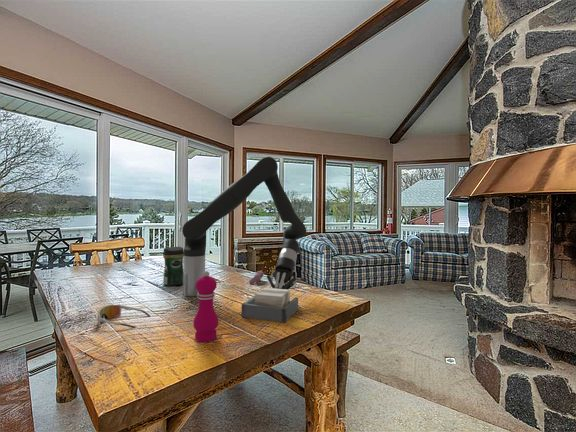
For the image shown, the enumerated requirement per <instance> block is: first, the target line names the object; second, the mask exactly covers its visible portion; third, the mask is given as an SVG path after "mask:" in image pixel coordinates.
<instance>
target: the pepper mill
mask: <svg viewBox="0 0 576 432" xmlns="http://www.w3.org/2000/svg"><path fill="white" fill-rule="evenodd" d="M217 285H218V284H217V281H216V278H214V277H213V276H210V272H209V270H205V272H204V273H203V277H201V278H199V279H198V280H197V282H196V289H197V291H198V292H199V293H198V294H197V295H198V296H196V297H197V299H198V302H199V304H198V310H197V312H196V314H195V316H194V318H193V328H194V330H195V333H194V338H195V341H196V342H199V343H208V342H213V341H214V340H216V339H217V335H218V332H217V328H218V326H219V318H218V315H217V312H216V310H215V308H214V298H215V290H216V289H217Z"/></svg>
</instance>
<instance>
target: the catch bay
mask: <svg viewBox="0 0 576 432" xmlns="http://www.w3.org/2000/svg"><path fill="white" fill-rule="evenodd" d="M298 309H299V297H294V298H292V299H290V302H289V303H288V304H287V305H286V306H285V307H284V308H279V307H270V306H262V305H255V295H254V296H253V297H251V298H250V299H248V300H246V301H245V302H243V303H241V313H240V314H241V317H242V318H248V319H255V320H263V321H271V322H278V323H286V322H287V321H289V319H290V318H291V317H292V316H293V315H294V314H295V313H296V312H297V311H298Z"/></svg>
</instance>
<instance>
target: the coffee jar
mask: <svg viewBox="0 0 576 432" xmlns="http://www.w3.org/2000/svg"><path fill="white" fill-rule="evenodd" d="M162 256H163V259H164V271H163V281H162V283H163V285H164V286H169V287H172V286H179V285H183V272H184V247H182V246H170V247H164V248H163V253H162Z"/></svg>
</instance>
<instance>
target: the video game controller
mask: <svg viewBox="0 0 576 432" xmlns="http://www.w3.org/2000/svg"><path fill="white" fill-rule="evenodd" d="M264 275H265V272H264V271H261V270H258V271H257V272H256V273H255V275H254V276H253V277H252V278H250V279H249V282H248V283H249V285H253V284H258V283H259V282H260V281H261V280H262V278H263V277H264Z"/></svg>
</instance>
